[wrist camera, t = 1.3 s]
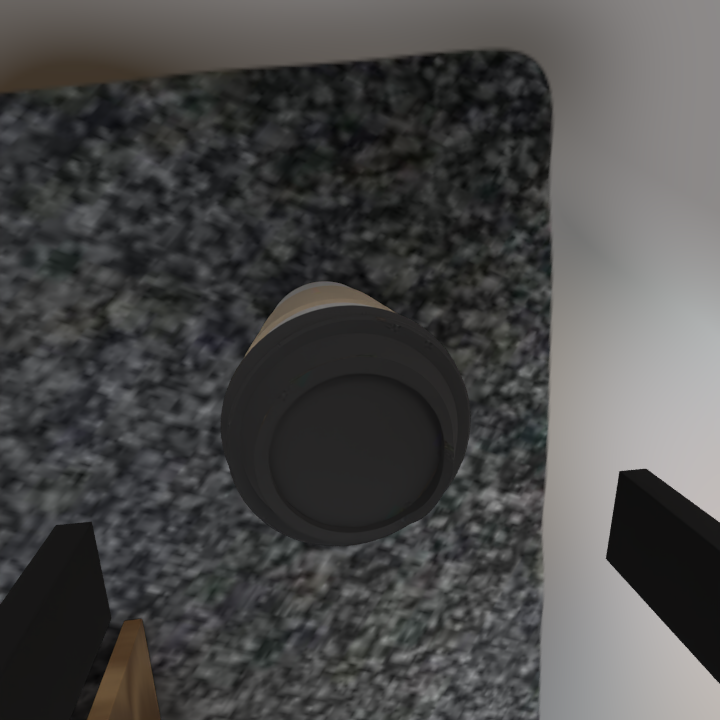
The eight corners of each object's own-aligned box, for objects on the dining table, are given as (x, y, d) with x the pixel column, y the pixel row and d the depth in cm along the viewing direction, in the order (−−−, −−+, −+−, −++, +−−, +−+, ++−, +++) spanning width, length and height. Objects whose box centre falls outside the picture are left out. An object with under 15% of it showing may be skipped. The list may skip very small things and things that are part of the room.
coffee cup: (219, 370, 30) (162, 524, 16) (289, 232, 28) (296, 267, 14) (352, 430, 32) (405, 610, 18) (424, 306, 31) (545, 400, 16)
